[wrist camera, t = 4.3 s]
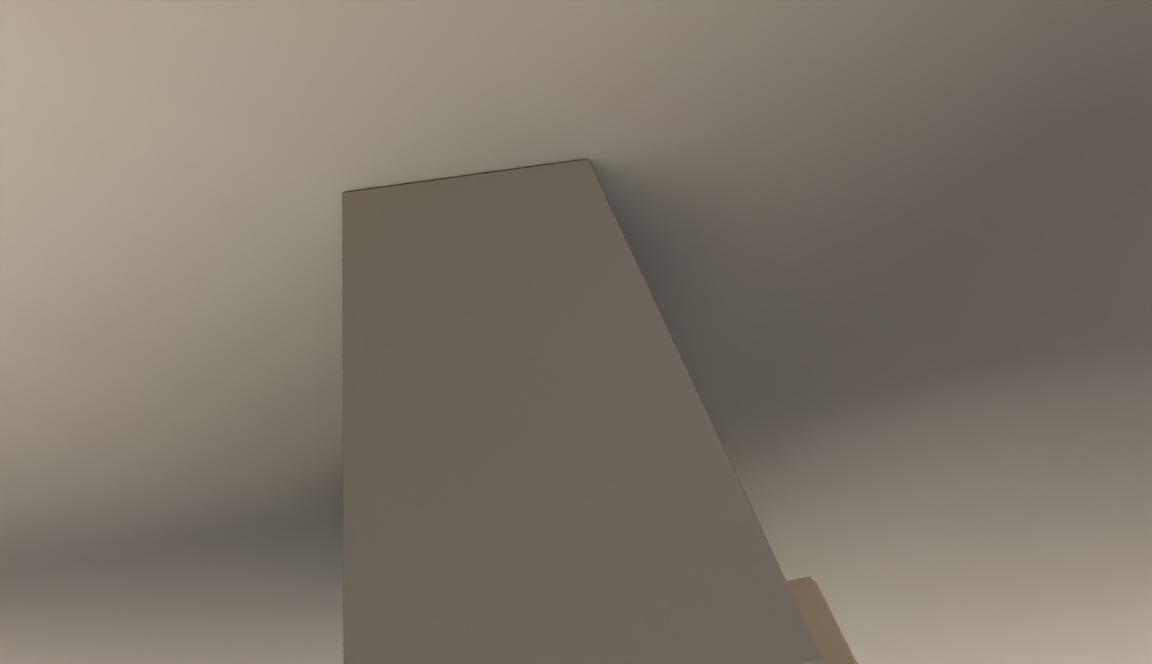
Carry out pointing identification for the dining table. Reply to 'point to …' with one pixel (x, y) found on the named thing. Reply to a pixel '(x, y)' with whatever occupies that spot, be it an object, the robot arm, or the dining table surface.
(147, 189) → the dining table surface
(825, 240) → the dining table surface
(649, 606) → the grey u-shaped block
